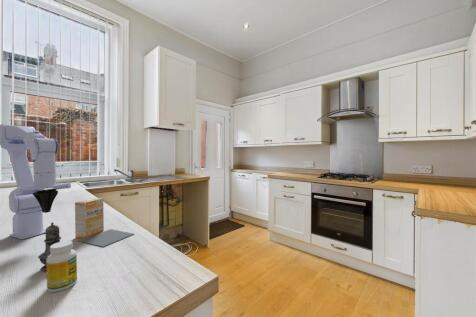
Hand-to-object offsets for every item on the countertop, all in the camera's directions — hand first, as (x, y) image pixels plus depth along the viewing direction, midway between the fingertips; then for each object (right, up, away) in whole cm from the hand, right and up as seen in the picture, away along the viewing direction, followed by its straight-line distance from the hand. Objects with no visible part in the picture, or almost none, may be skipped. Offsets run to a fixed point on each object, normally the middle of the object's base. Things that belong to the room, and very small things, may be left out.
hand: (46, 212), depth 73 cm
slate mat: (+19, -10, +3) cm, 22 cm away
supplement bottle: (+26, -11, -25) cm, 37 cm away
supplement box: (+10, -10, +7) cm, 16 cm away
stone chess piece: (+16, -11, -16) cm, 25 cm away
